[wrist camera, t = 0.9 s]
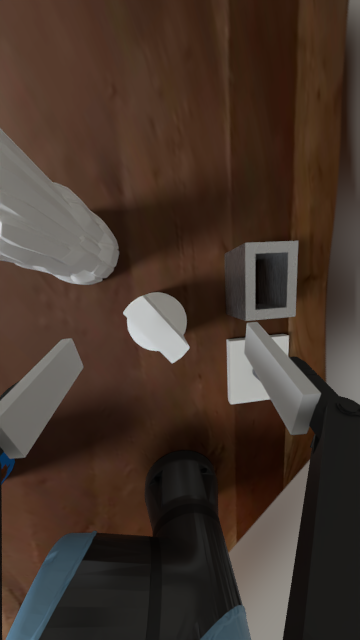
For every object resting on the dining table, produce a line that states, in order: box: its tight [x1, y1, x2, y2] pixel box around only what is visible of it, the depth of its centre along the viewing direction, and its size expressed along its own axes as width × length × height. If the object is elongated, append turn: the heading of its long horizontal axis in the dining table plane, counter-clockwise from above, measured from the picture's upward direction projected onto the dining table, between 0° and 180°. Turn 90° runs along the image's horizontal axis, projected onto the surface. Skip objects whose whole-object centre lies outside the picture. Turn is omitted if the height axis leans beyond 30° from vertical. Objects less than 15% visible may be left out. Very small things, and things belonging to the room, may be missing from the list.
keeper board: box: [227, 334, 289, 404], centre depth 34 cm, size 13×12×7 cm
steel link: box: [225, 241, 298, 321], centre depth 31 cm, size 11×8×8 cm
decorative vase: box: [0, 129, 119, 285], centre depth 18 cm, size 11×11×25 cm
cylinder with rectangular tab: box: [123, 292, 189, 363], centre depth 28 cm, size 9×9×12 cm
